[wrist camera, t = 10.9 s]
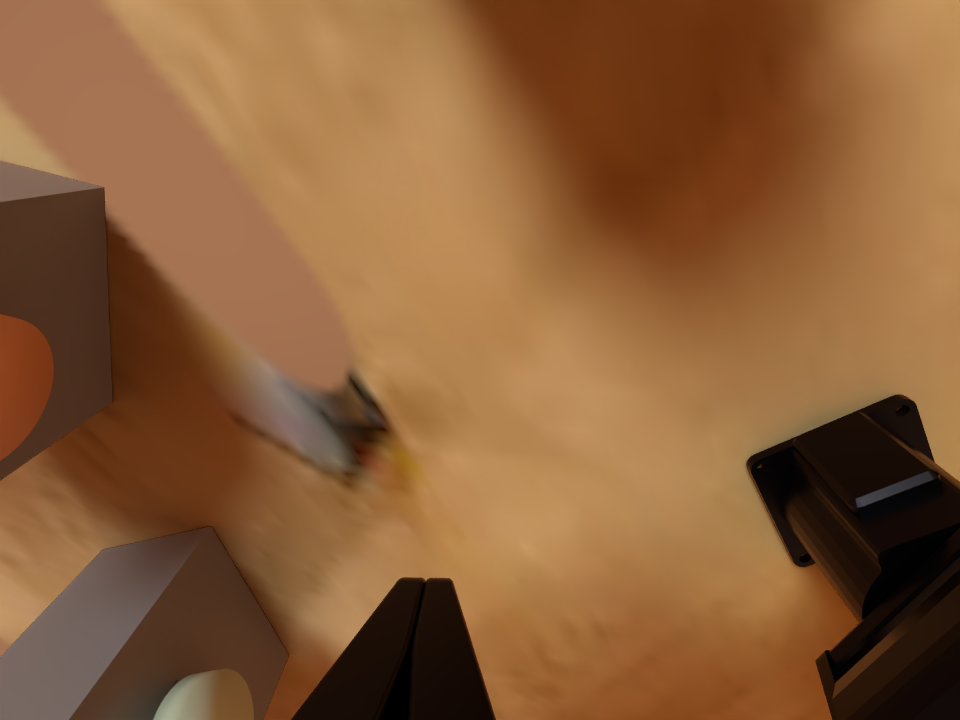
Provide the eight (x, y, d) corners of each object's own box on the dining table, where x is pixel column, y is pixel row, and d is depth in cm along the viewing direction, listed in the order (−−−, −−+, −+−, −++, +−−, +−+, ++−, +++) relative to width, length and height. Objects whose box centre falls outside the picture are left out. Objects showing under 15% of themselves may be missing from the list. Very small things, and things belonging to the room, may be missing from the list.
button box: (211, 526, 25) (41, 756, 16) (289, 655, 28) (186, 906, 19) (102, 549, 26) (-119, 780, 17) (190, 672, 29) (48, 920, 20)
